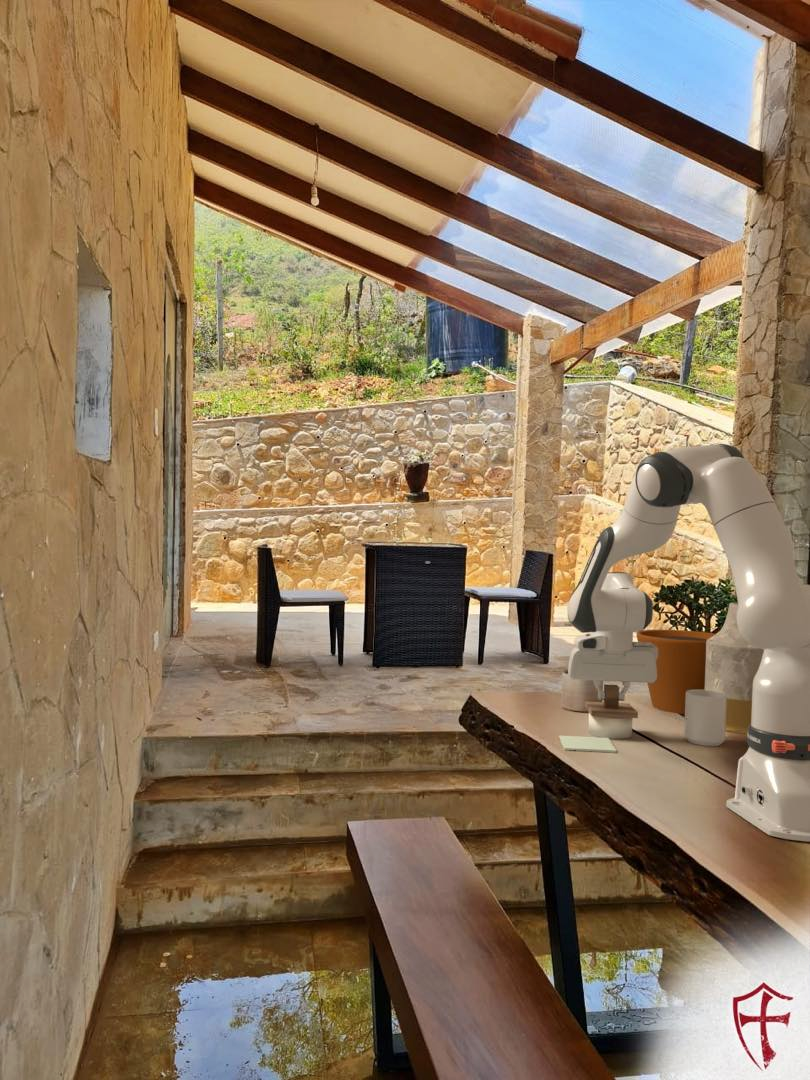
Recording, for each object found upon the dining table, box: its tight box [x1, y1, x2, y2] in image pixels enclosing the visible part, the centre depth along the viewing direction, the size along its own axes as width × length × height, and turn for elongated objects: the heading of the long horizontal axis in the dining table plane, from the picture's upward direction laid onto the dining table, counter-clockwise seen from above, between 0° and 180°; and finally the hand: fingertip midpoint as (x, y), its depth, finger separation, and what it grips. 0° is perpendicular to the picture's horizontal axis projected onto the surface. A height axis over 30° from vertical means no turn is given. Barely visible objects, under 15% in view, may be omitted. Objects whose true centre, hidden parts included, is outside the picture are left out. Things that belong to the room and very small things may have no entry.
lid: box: [585, 683, 639, 719], centre depth 200 cm, size 10×10×6 cm
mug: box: [683, 690, 727, 747], centre depth 196 cm, size 12×9×11 cm
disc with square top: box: [587, 713, 634, 740], centre depth 200 cm, size 10×10×5 cm
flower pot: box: [636, 629, 717, 715], centre depth 231 cm, size 24×24×20 cm
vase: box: [705, 601, 764, 735], centre depth 212 cm, size 18×18×30 cm
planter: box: [560, 669, 604, 714], centre depth 227 cm, size 11×11×10 cm
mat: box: [558, 735, 617, 754], centre depth 188 cm, size 11×11×1 cm
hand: (611, 699), depth 199 cm, fingers closed on lid, 3 cm apart
